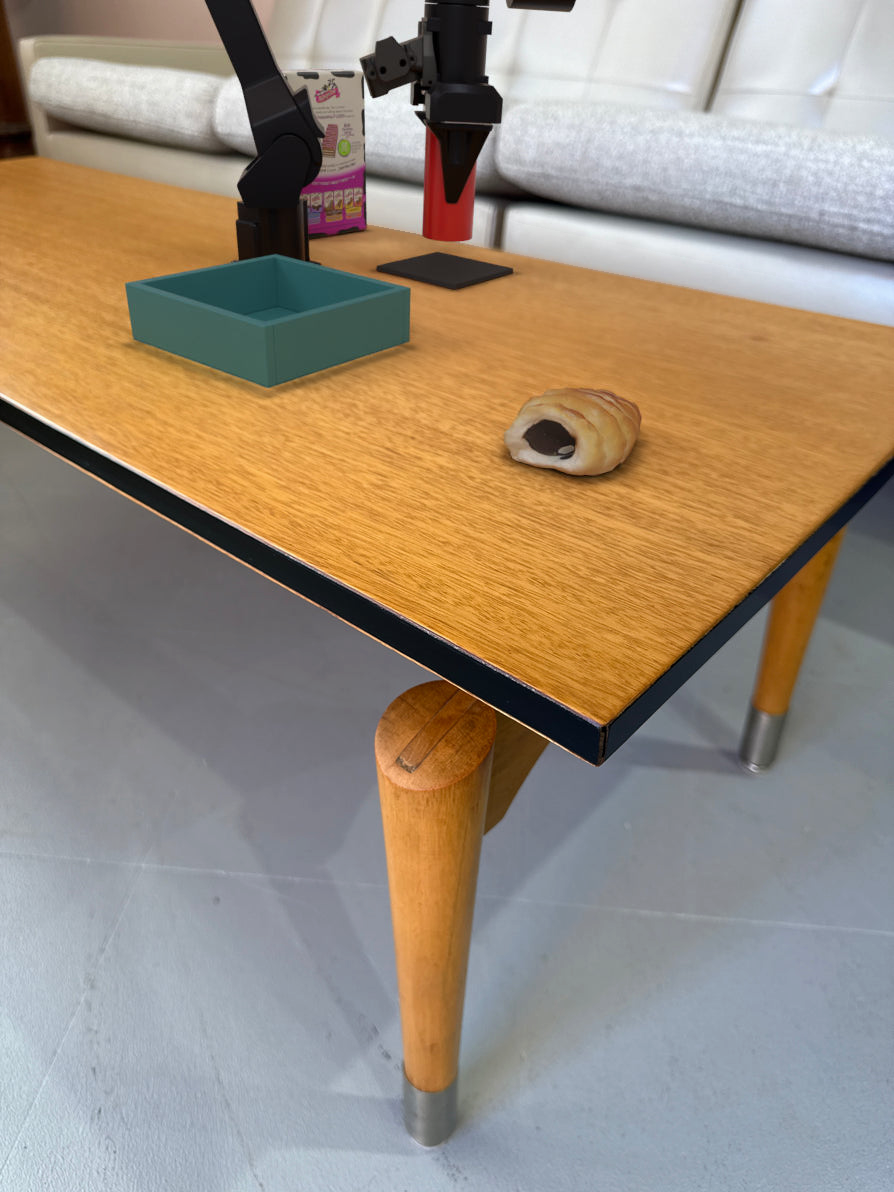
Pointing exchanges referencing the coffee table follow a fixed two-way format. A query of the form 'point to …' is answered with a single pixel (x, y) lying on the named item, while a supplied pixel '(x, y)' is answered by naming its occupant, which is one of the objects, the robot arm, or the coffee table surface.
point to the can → (437, 213)
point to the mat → (445, 270)
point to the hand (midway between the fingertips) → (447, 198)
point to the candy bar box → (336, 150)
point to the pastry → (574, 431)
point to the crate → (269, 317)
